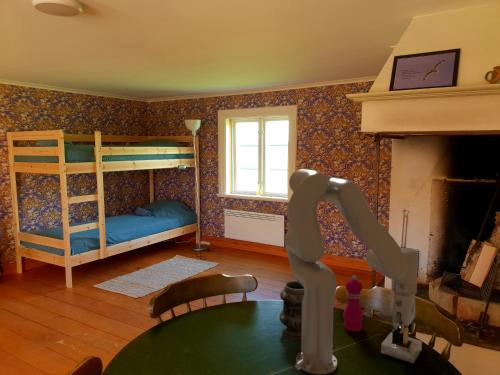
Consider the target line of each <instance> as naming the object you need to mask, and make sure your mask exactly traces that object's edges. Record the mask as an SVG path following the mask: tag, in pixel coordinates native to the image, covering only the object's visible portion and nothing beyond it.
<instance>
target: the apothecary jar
mask: <svg viewBox="0 0 500 375" xmlns="http://www.w3.org/2000/svg"><path fill="white" fill-rule="evenodd" d="M279 294H280V295H279V296H280V299H281V300H282V301H283V302H282V303H283V307H282V310H281V311H280V313H279V321H280V323H282V325H283V326H284V327H283V328H282V331H281V332H282V334H283V336H284V337H287V338H289V339H293V340H301V330H302V301H303V297H304V287H303V286H302V285H301V284H300V283H299V282H298V281H297V280H290V281H287V282H285V284H284V288H283V289H281V291H280V292H279Z"/></svg>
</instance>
